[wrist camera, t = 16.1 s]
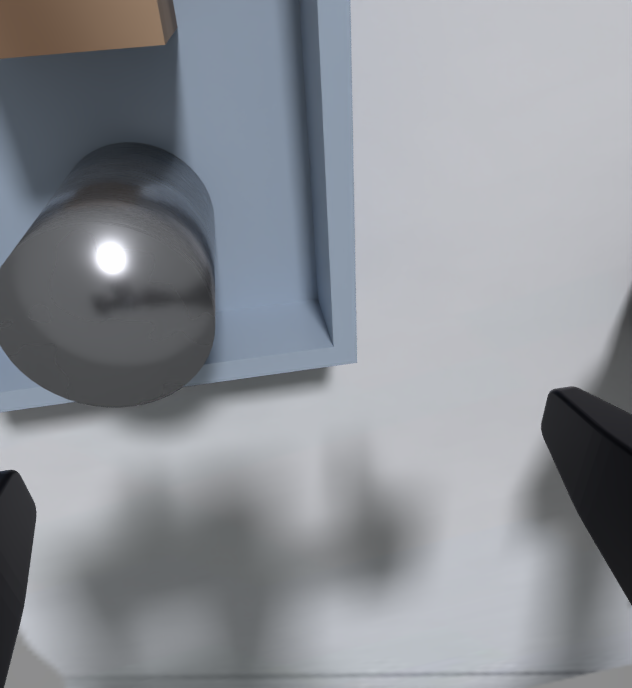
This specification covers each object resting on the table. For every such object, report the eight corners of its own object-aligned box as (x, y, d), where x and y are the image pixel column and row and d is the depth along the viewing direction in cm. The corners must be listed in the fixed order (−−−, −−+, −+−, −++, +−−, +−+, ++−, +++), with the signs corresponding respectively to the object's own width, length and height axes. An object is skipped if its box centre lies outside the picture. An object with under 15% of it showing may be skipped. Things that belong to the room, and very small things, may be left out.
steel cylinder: (201, 135, 18) (195, 211, 12) (224, 274, 20) (229, 392, 15) (39, 150, 17) (-50, 238, 11) (85, 291, 20) (34, 419, 14)
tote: (308, -354, 13) (341, -470, 9) (335, 306, 23) (356, 362, 19) (-342, -346, 11) (-569, -478, 8) (-11, 350, 21) (-51, 419, 18)
